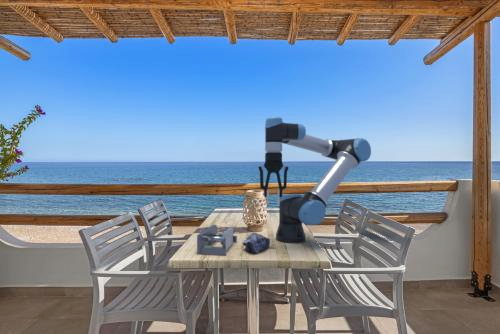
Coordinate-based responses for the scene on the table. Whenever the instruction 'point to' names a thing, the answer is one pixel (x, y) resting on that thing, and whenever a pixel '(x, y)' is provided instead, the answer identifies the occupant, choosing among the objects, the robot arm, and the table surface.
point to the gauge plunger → (224, 238)
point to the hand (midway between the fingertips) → (273, 204)
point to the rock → (256, 243)
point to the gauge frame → (210, 242)
